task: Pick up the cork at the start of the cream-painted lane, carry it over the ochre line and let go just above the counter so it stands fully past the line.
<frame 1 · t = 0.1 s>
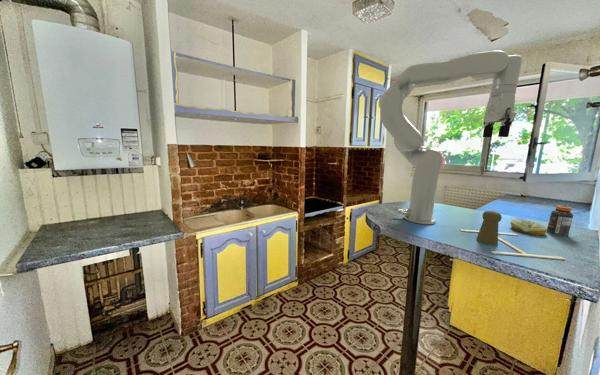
hand: (494, 137, 96), 37 cm above the countertop, tool pointing down, fingers open, 9 cm apart
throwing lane: (505, 243, 84), on the countertop
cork: (486, 242, 85), on the countertop
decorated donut: (526, 231, 98), on the countertop
pill bottle: (556, 234, 95), on the countertop
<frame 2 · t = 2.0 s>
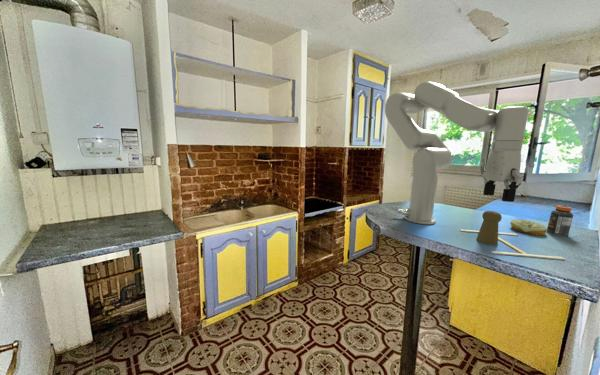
hand: (497, 198, 81), 16 cm above the countertop, tool pointing down, fingers open, 9 cm apart
nothing on the countertop moved.
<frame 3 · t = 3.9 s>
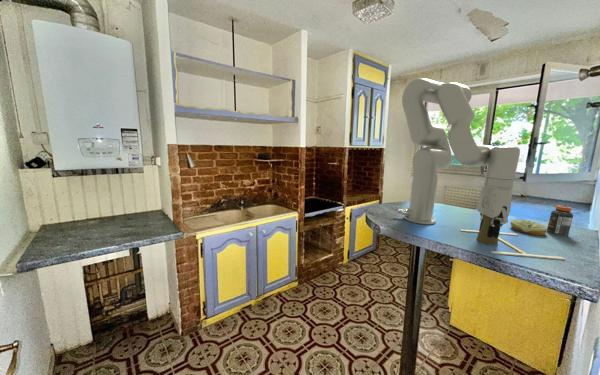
hand: (488, 234, 84), 3 cm above the countertop, tool pointing down, fingers closed on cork, 3 cm apart
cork: (486, 242, 85), on the countertop, touching gripper
everything else where it was.
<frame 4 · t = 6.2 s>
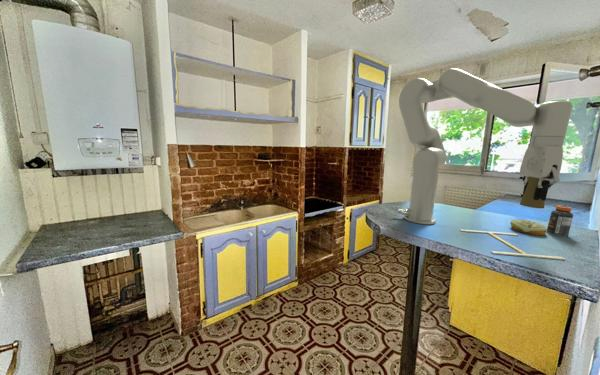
hand: (533, 197, 80), 17 cm above the countertop, tool pointing down, fingers closed on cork, 3 cm apart
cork: (531, 206, 81), point 14 cm above the countertop, touching gripper
everything else where it was.
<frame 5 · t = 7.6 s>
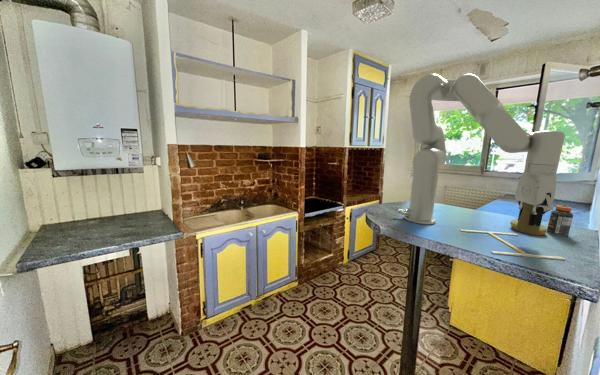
hand: (528, 222, 82), 8 cm above the countertop, tool pointing down, fingers closed on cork, 3 cm apart
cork: (526, 231, 82), point 5 cm above the countertop, touching gripper
everything else where it was.
when the fingers open (5 cm above the countertop, at t = 8.6 s): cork drops 2 cm, on the countertop.
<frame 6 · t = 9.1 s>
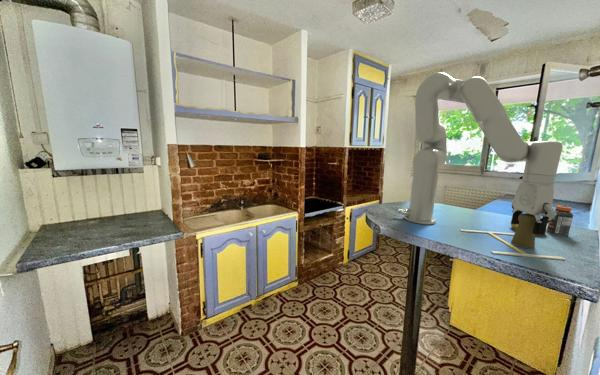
hand: (526, 228, 82), 6 cm above the countertop, tool pointing down, fingers open, 9 cm apart
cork: (522, 245, 83), on the countertop
everything else where it was.
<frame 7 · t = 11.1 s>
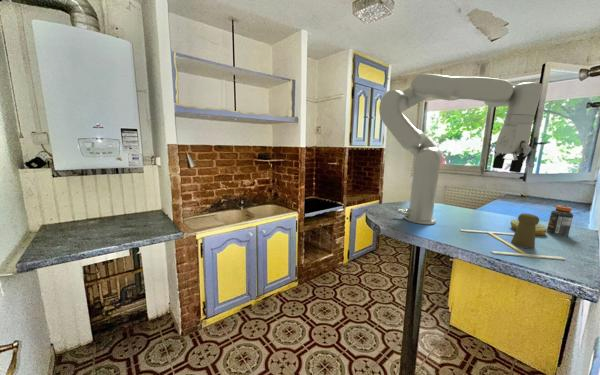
hand: (505, 169, 88), 25 cm above the countertop, tool pointing down, fingers open, 9 cm apart
nothing on the countertop moved.
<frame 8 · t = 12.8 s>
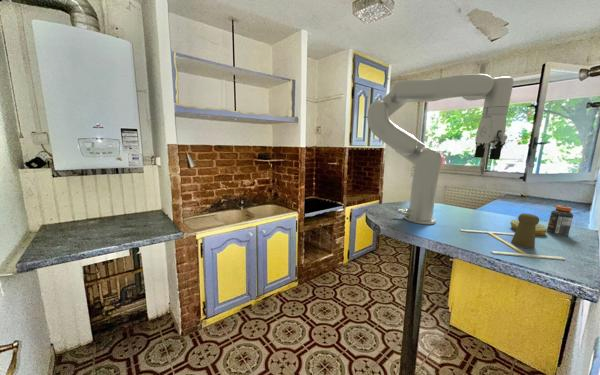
hand: (486, 158, 94), 28 cm above the countertop, tool pointing down, fingers open, 9 cm apart
nothing on the countertop moved.
at the end: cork inside the target area (1.7 cm from its centre), on the countertop; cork tilted 0°; the gripper is holding nothing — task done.
